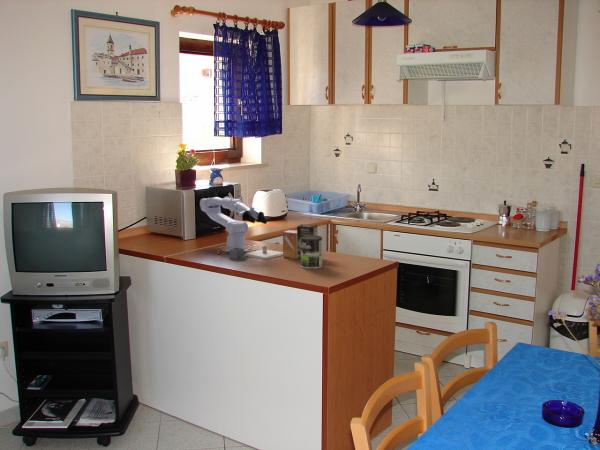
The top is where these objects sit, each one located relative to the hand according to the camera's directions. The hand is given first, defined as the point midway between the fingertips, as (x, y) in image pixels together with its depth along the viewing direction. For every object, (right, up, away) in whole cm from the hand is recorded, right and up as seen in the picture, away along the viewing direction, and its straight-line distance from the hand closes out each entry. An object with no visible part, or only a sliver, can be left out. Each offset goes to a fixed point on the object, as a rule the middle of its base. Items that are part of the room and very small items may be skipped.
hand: (260, 221), depth 345 cm
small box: (+16, -18, +3) cm, 24 cm away
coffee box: (+24, -18, +1) cm, 30 cm away
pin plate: (+2, -17, +8) cm, 19 cm away
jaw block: (-11, -19, 0) cm, 22 cm away
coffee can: (+25, -22, -18) cm, 38 cm away
